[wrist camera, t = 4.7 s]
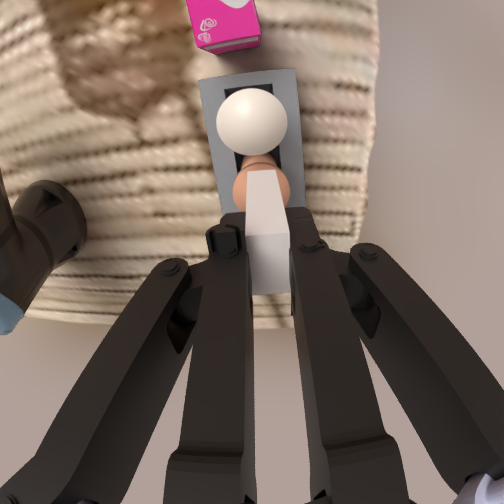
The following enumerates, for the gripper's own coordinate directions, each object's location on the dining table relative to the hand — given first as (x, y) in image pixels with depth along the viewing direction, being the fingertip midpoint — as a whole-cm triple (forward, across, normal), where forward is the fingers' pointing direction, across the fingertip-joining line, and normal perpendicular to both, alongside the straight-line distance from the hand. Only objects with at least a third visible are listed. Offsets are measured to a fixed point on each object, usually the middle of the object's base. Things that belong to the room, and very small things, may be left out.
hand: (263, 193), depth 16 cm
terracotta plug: (+19, 0, -4) cm, 19 cm away
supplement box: (+23, -2, +13) cm, 26 cm away
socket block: (+23, 0, -4) cm, 23 cm away
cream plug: (+16, 0, +3) cm, 16 cm away
